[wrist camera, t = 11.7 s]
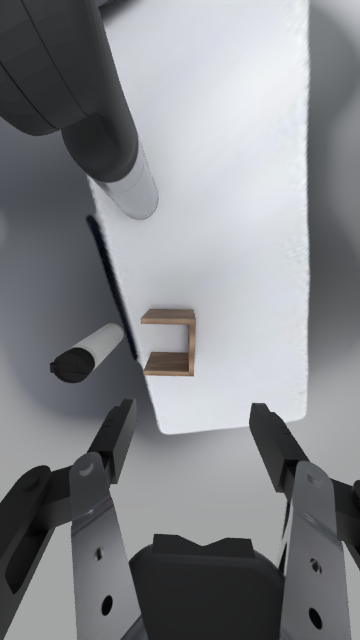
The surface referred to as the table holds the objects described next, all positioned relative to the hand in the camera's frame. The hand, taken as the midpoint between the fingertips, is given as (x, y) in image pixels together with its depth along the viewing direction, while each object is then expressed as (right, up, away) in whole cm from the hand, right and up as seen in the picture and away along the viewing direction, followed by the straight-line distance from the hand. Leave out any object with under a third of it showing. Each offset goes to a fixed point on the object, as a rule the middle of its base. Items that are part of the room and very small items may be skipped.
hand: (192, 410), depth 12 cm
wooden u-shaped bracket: (-4, +2, +37) cm, 37 cm away
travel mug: (-20, +3, +38) cm, 43 cm away
